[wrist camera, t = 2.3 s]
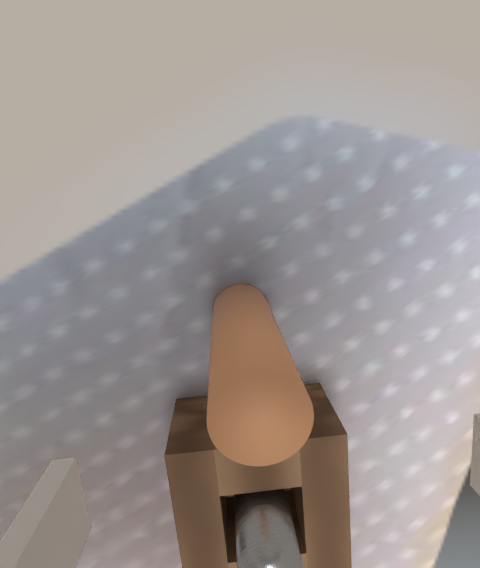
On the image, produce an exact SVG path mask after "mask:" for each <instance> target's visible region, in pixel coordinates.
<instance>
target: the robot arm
mask: <svg viewBox="0 0 480 568" xmlns="http://www.w3.org/2000/svg"><path fill="white" fill-rule="evenodd" d="M470 485H471V486H472V487H473V489H474V490H475V491H476V492H477V493H478V494H479V496H480V414H474V425H473V443H472V462H471V481H470ZM90 530H91V523H90V518H89V514H88V509H87V505H86V500H85V496H84V491H83V487H82V482H81V478H80V473H79V468H78V464H77V459H76V457H74V458H64V459H55V460H52V461H51V463H50V464H49V466H48V467H47V469H46V470H45V472H44V473H43V475H42V476H41V478H40V480H39V481H38V483H37V484H36V486H35V487H34V489H33V490H32V492H31V493H30V495H29V497H28V498H27V500H26V501H25V503H24V504H23V506H22V507H21V509H20V511H19V512H18V514H17V515H16V517H15V518H14V520H13V521H12V523H11V524H10V526H9V528H8V529H7V531H6V532H5V534H4V535H3V537H2V538H1V540H0V568H75V567H76V565H77V562H78V560H79V557H80V555H81V552H82V550H83V547H84V545H85V542H86V540H87V537H88V535H89V532H90Z"/></svg>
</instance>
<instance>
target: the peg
mask: <svg viewBox="0 0 480 568" xmlns="http://www.w3.org/2000/svg"><path fill="white" fill-rule="evenodd" d="M206 420H207V429H208V433H209V436H210V438H211V440H212V442H213V444H214V445H215V447H216V448H217V449H218V450H219V451H220V452H221V453H222V454H223V455H224V456H226V457H227V458H229V459H231V460H232V461H235V462H237V463H240V464H243V465H248V466H268V465H273V464H276V463H279V462H282V461H284V460H286V459H288V458H289V457H291V456H292V455H294V454H295V453H296V452H297V451H298V450H299V449H301V447H302V446H303V445H304V444H305V442H306V441H307V439H308V437H309V435H310V433H311V430H312V427H313V422H314V410H313V405H312V402H311V399H310V397H309V395H308V392H307V390H306V388H305V386H304V383H303V381H302V379H301V377H300V375H299V372H298V370H297V368H296V366H295V363H294V361H293V359H292V357H291V354H290V352H289V350H288V348H287V345H286V343H285V341H284V339H283V336H282V334H281V332H280V330H279V327H278V325H277V323H276V321H275V318H274V316H273V314H272V312H271V309H270V307H269V305H268V303H267V300H266V298H265V297H264V295H263V294H262V293H261V292H260V291H259V290H258V289H257V288H255V287H253V286H250V285H247V284H235V285H232V286H229V287H227V288H226V289H224V290H223V291H222V292H221V293H220V294H219V295H218V296H217V298H216V300H215V302H214V305H213V316H212V333H211V350H210V367H209V384H208V402H207V419H206Z"/></svg>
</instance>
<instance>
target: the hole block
mask: <svg viewBox="0 0 480 568" xmlns="http://www.w3.org/2000/svg"><path fill="white" fill-rule="evenodd" d="M304 386H305V388H306V390H307V392H308V395H309V397H310V399H311V402H312V405H313V410H314V422H313V427H312V430H311V433H310V435H309V437H308V439H307V441H306V442H305V444H304V445H303V446H302V447H301V449H299V450H298V451H297V452H296V453H295V454H294V455H292V456H291V457H289V458H288V459H286V460H284V461H282V462H279V463H276V464H273V465H268V466H248V465H243V464H240V463H237V462H235V461H232V460H231V459H229V458H227V457H226V456H224V455H223V454H222V453H221V452H220V451H219V450H218V449H217V448H216V447H215V445H214V444H213V442H212V440H211V438H210V436H209V433H208V429H207V420H206V419H207V402H208V396H203V397H194V398H185V399H176V403H175V408H174V413H173V418H172V422H171V427H170V432H169V437H168V442H167V446H166V451H165V461H166V467H167V474H168V480H169V486H170V493H171V499H172V505H173V512H174V518H175V524H176V531H177V537H178V543H179V549H180V556H181V562H182V568H237V552H236V531H235V511H234V495H235V494H244V493H252V492H260V491H269V490H277V489H286V493H287V498H288V502H289V506H290V511H291V515H292V520H293V524H294V528H295V533H296V537H297V542H298V546H299V550H300V555H301V559H302V564H303V568H351V538H350V507H349V475H348V444H347V433H346V431H345V429H344V427H343V426H342V424H341V422H340V420H339V418H338V416H337V414H336V413H335V411H334V409H333V407H332V405H331V403H330V401H329V400H328V398H327V396H326V394H325V392H324V390H323V388H322V387H321V385H320V383H319V384H310V385H304Z"/></svg>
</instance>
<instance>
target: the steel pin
mask: <svg viewBox="0 0 480 568" xmlns="http://www.w3.org/2000/svg"><path fill="white" fill-rule="evenodd" d="M234 511H235V531H236V552H237V568H303V564H302V559H301V555H300V550H299V546H298V542H297V537H296V533H295V528H294V524H293V520H292V515H291V511H290V506H289V502H288V498H287V493H286V489H277V490H269V491H260V492H252V493H244V494H235V495H234Z"/></svg>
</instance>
